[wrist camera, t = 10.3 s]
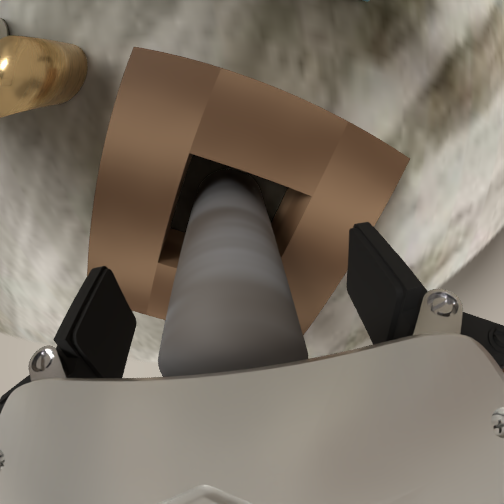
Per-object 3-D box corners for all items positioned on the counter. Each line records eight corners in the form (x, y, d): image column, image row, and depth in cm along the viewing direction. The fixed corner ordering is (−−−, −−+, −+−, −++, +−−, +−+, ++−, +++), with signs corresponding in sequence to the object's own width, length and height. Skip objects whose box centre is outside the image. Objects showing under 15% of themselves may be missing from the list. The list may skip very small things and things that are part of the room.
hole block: (284, 309, 22) (293, 348, 19) (106, 260, 19) (86, 295, 15) (376, 142, 16) (410, 158, 13) (155, 56, 12) (133, 46, 9)
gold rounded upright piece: (78, 107, 13) (19, 121, 8) (31, 102, 12) (-30, 117, 7) (95, 44, 11) (39, 32, 6) (45, 44, 10) (-15, 39, 5)
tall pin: (247, 237, 19) (270, 410, 9) (188, 218, 18) (150, 390, 8) (271, 181, 17) (336, 335, 7) (208, 159, 16) (173, 299, 6)
